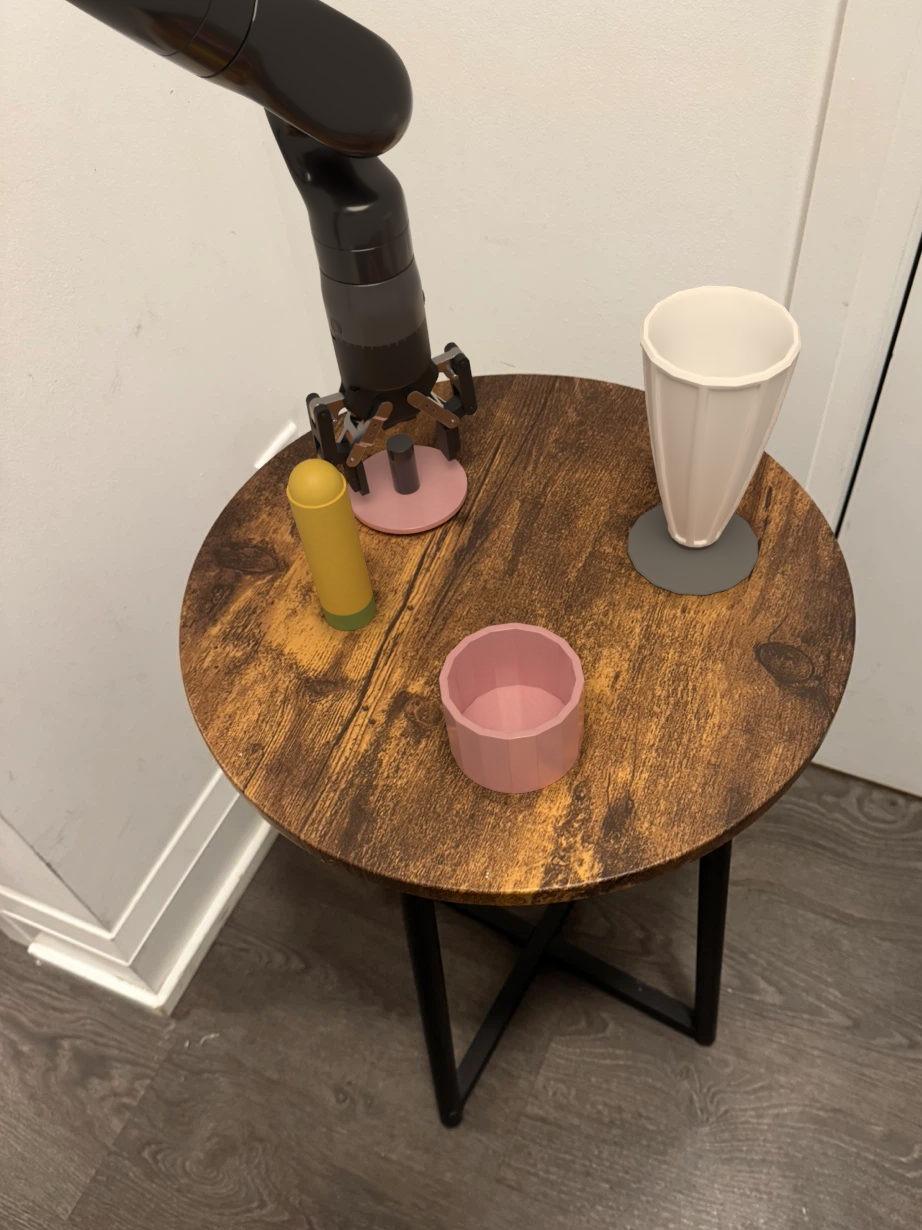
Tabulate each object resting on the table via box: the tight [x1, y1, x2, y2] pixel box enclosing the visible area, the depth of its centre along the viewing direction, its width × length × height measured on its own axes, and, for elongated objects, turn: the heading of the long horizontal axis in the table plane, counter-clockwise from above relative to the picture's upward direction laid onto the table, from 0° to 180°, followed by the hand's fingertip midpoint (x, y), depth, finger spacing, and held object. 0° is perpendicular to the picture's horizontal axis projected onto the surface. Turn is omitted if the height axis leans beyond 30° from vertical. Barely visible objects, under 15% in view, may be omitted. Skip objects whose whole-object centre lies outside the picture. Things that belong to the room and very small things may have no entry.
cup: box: [626, 285, 802, 596], centre depth 82 cm, size 12×12×22 cm
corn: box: [285, 458, 377, 632], centre depth 81 cm, size 4×4×16 cm
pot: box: [438, 622, 585, 794], centre depth 77 cm, size 10×10×8 cm
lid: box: [347, 433, 469, 535], centre depth 93 cm, size 11×11×6 cm
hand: (405, 472), depth 93 cm, fingers open, 8 cm apart
